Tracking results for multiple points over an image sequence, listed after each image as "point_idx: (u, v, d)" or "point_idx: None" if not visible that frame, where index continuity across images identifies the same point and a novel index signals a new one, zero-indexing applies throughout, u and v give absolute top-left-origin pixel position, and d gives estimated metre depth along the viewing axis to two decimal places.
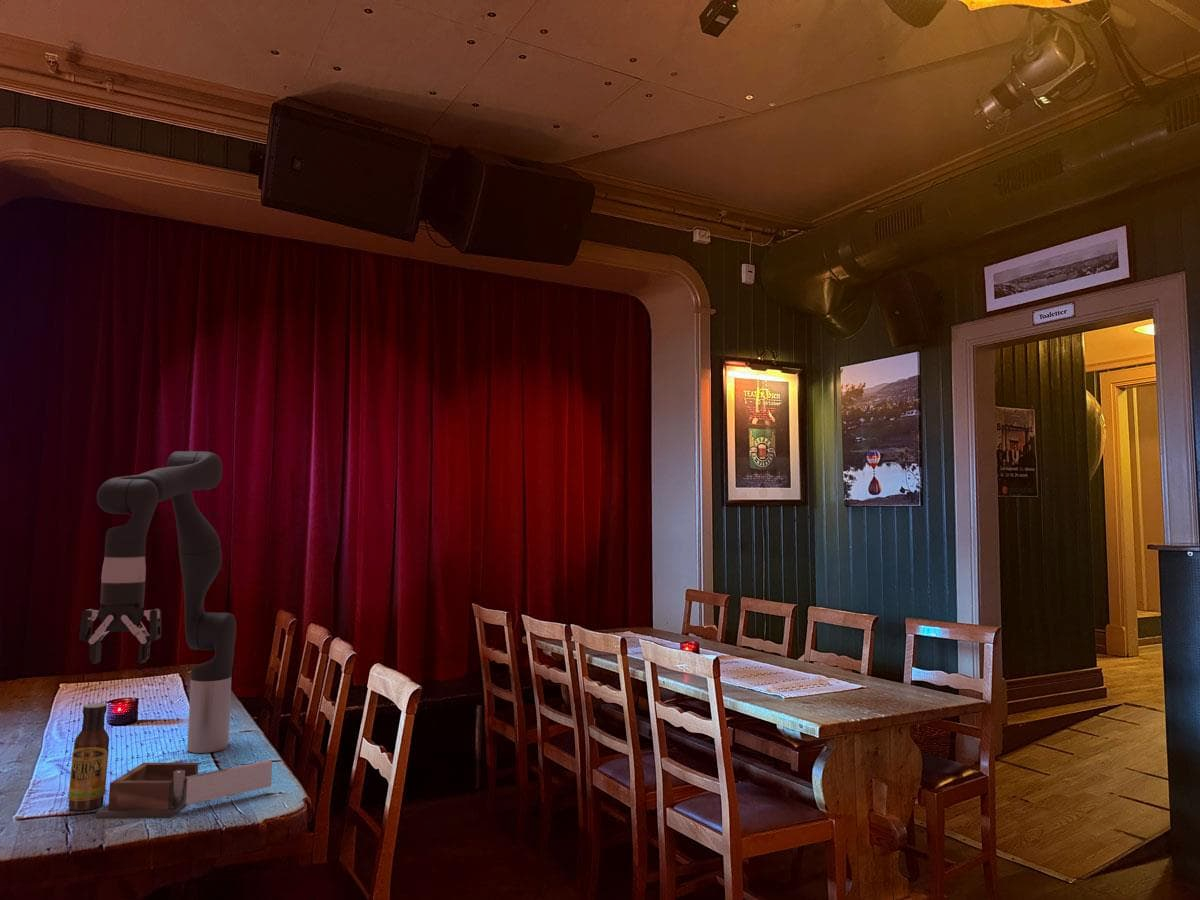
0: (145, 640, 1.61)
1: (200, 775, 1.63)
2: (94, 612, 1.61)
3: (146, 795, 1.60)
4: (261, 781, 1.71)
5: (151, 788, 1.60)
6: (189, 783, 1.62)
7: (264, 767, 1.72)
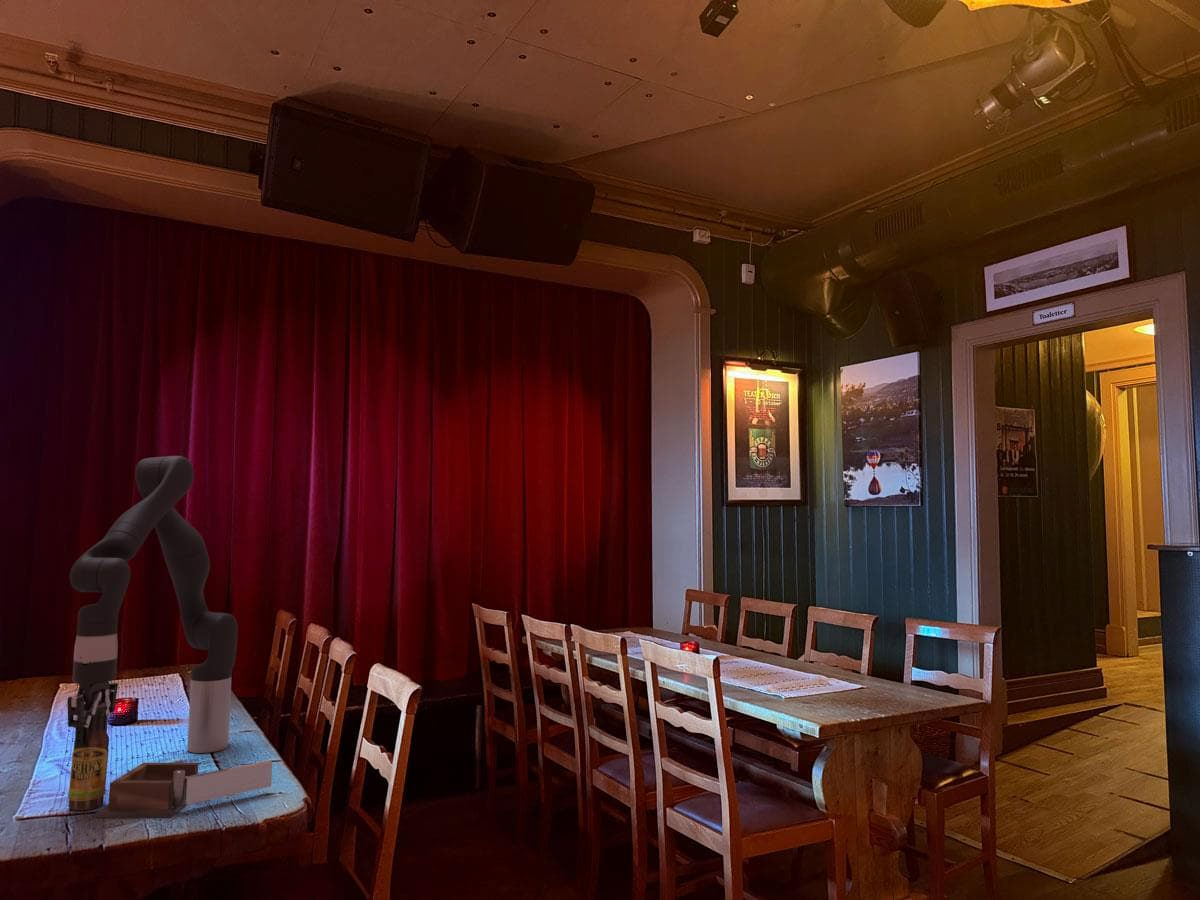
0: (109, 714, 1.69)
1: (200, 775, 1.63)
2: (82, 696, 1.60)
3: (146, 795, 1.60)
4: (261, 781, 1.71)
5: (151, 788, 1.60)
6: (189, 783, 1.62)
7: (264, 767, 1.72)
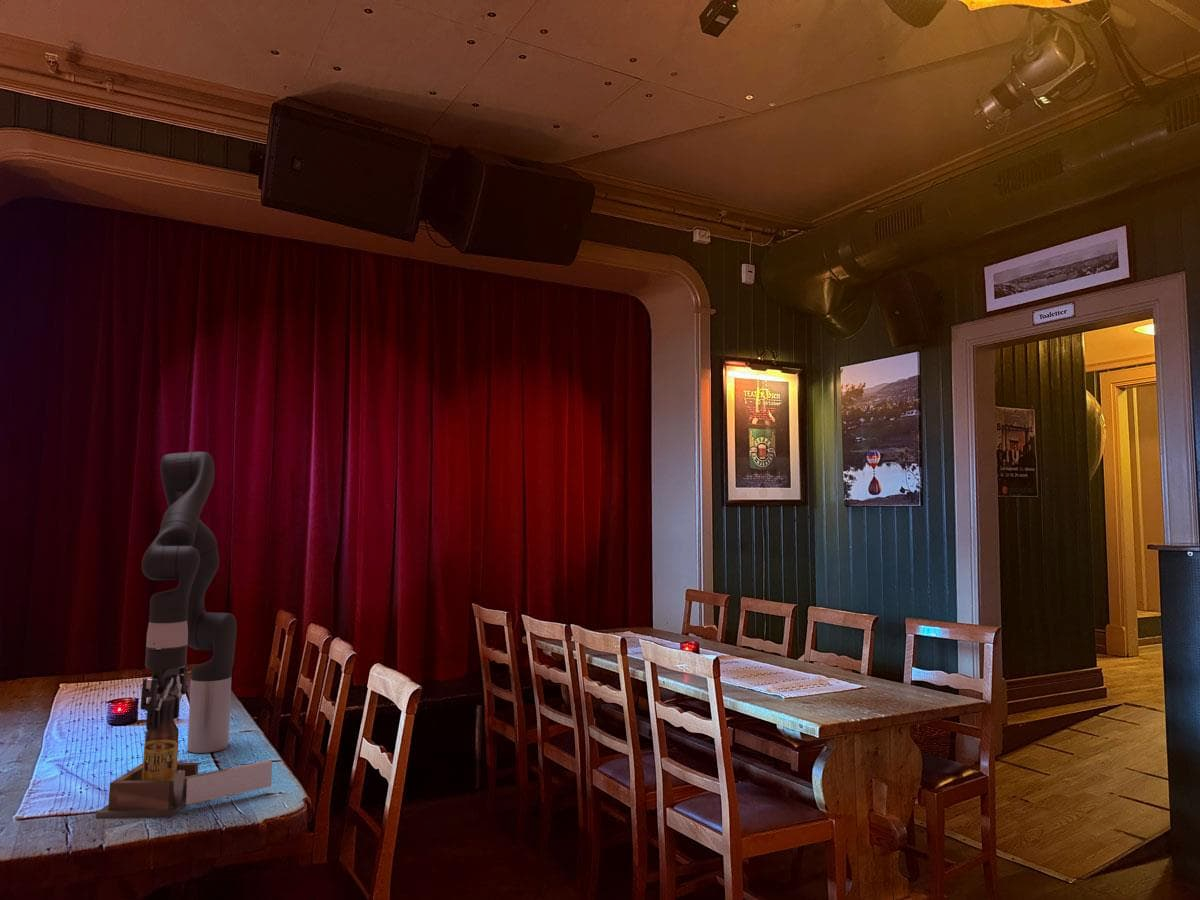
0: (181, 696, 1.73)
1: (200, 775, 1.63)
2: None
3: (146, 795, 1.60)
4: (261, 781, 1.71)
5: (151, 788, 1.60)
6: (189, 783, 1.62)
7: (264, 767, 1.72)
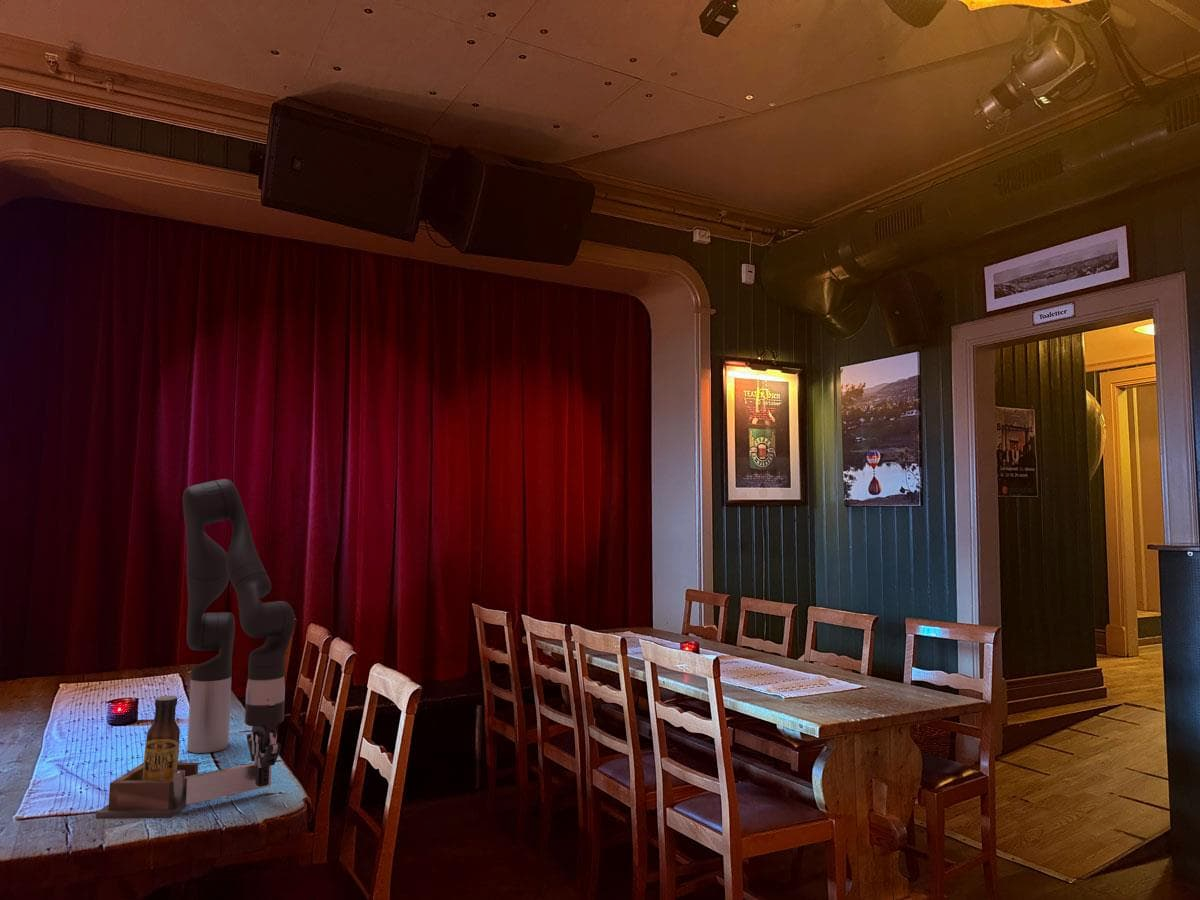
0: None
1: (200, 775, 1.64)
2: None
3: (146, 795, 1.60)
4: None
5: (151, 788, 1.60)
6: (189, 783, 1.62)
7: None
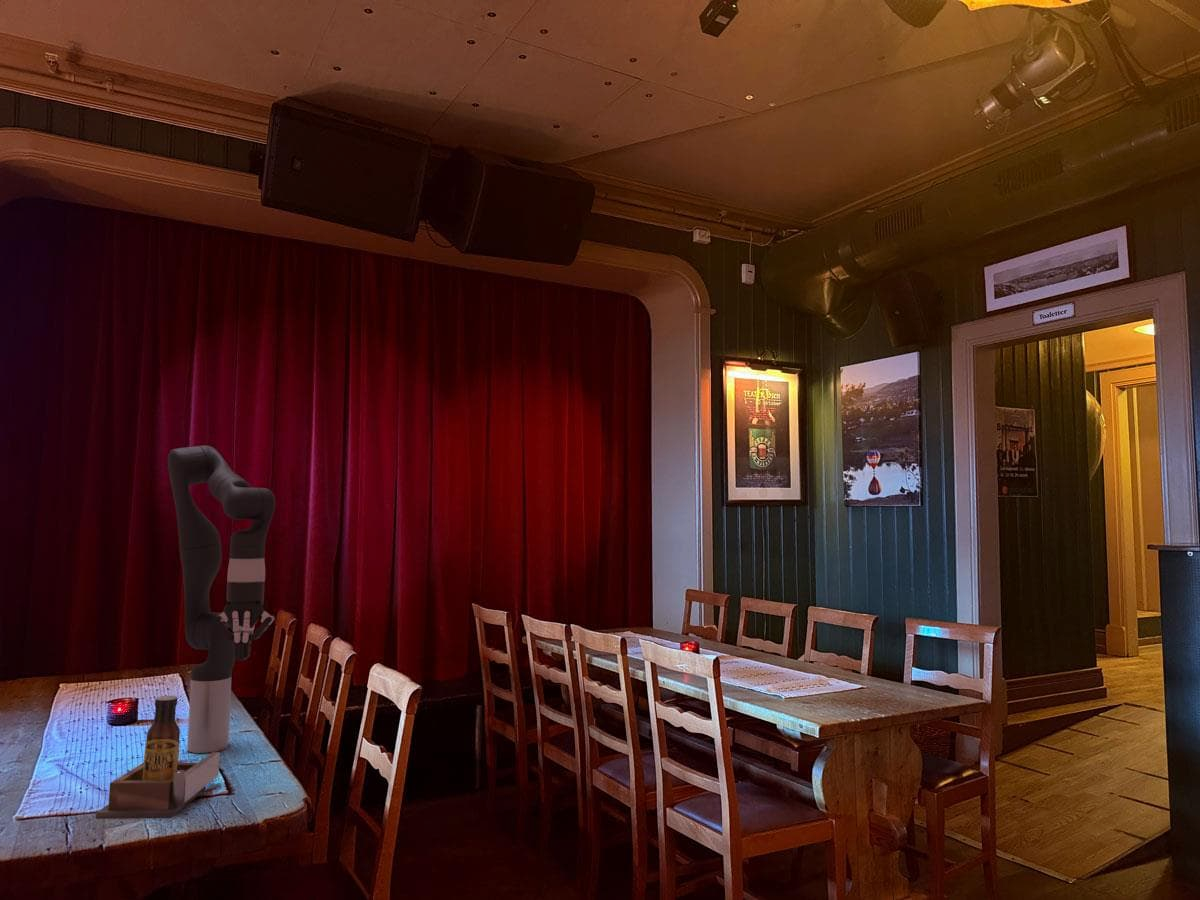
0: None
1: (189, 772, 1.65)
2: None
3: (146, 795, 1.60)
4: (214, 771, 1.77)
5: (151, 788, 1.60)
6: (186, 781, 1.63)
7: (216, 758, 1.77)
